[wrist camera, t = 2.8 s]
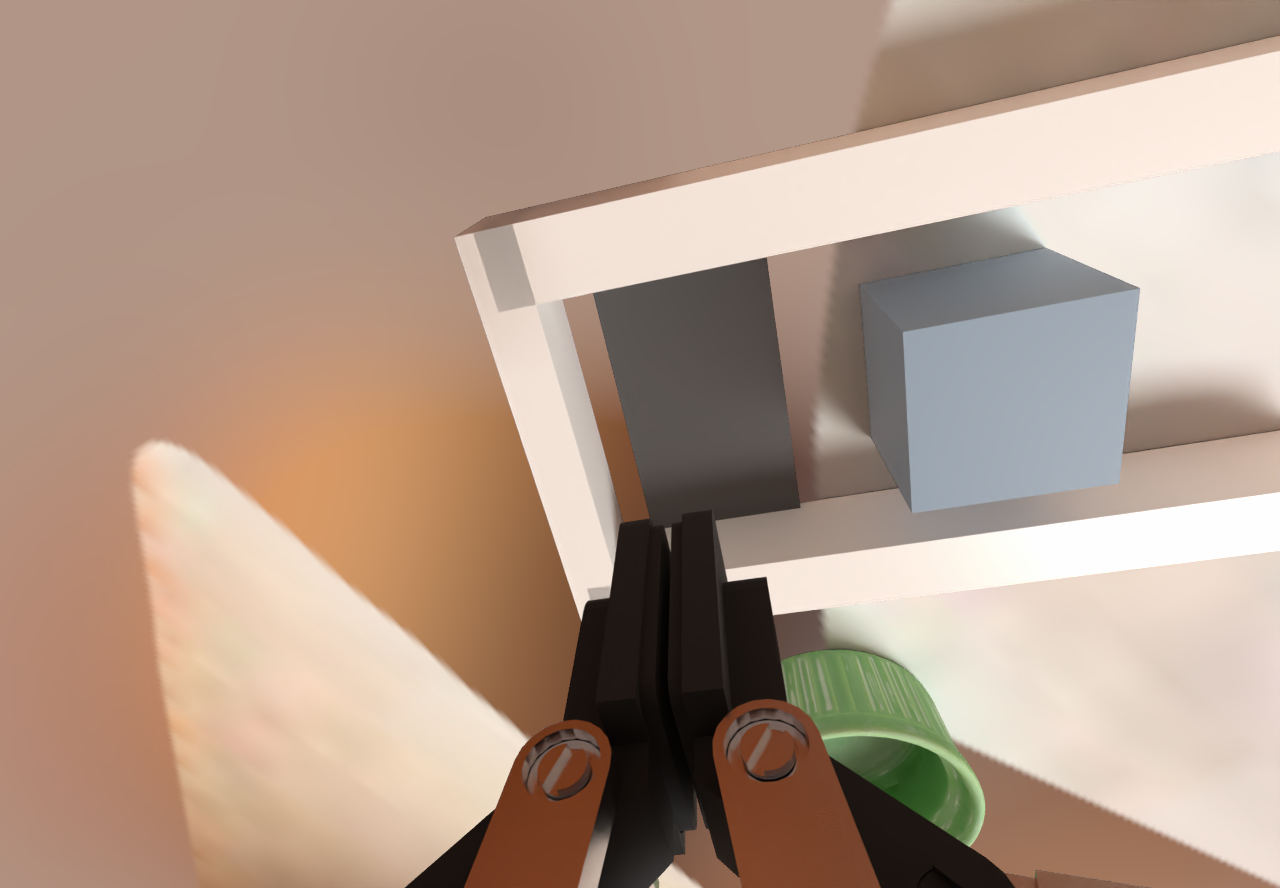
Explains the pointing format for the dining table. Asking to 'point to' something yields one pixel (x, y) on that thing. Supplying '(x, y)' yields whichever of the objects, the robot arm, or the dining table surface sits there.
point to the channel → (750, 360)
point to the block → (999, 378)
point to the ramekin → (887, 734)
